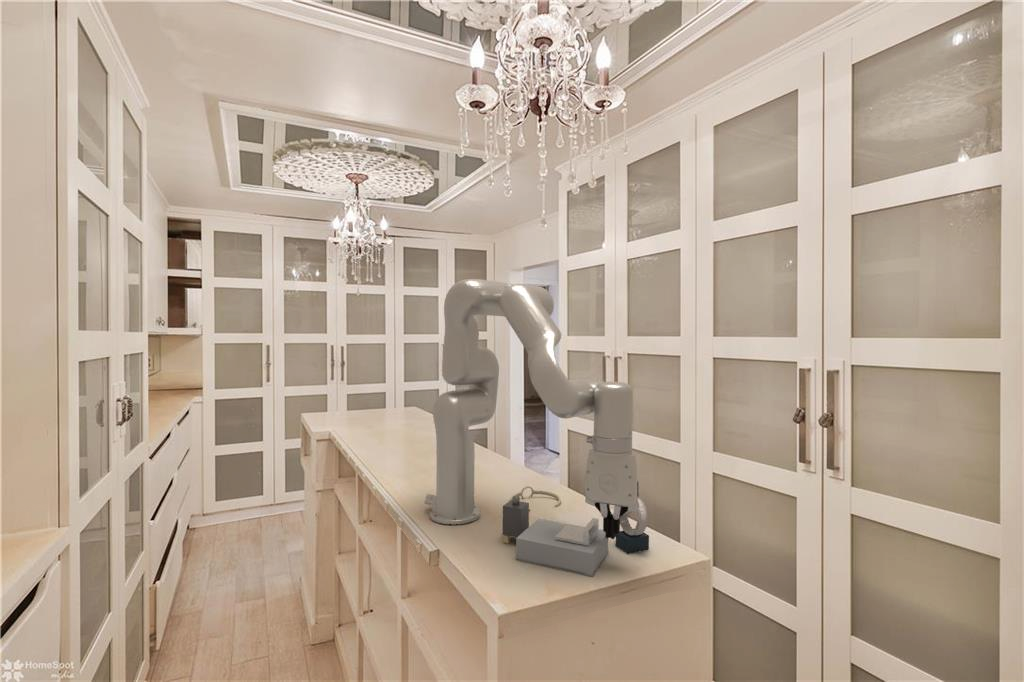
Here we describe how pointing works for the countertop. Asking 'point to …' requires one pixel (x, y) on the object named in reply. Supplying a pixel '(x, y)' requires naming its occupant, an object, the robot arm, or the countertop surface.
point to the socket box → (560, 549)
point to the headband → (539, 493)
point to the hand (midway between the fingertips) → (611, 536)
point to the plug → (515, 518)
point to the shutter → (579, 533)
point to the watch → (633, 532)
